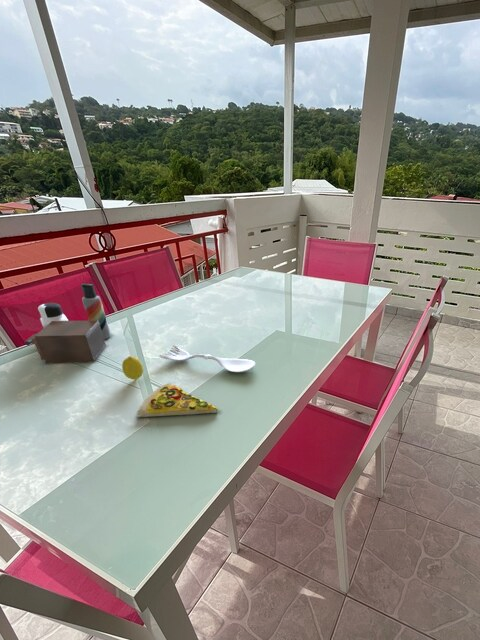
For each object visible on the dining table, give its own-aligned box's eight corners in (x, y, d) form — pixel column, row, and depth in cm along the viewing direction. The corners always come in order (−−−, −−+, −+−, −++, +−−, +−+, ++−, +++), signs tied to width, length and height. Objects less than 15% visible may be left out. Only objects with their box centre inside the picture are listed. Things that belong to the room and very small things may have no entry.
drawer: (26, 360, 106) (16, 338, 102) (43, 345, 116) (34, 324, 111) (86, 359, 109) (79, 337, 105) (98, 344, 119) (91, 323, 114)
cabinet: (45, 363, 107) (34, 336, 102) (62, 346, 117) (52, 321, 112) (94, 362, 110) (85, 335, 104) (106, 345, 120) (98, 320, 114)
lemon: (149, 378, 103) (143, 355, 98) (133, 386, 99) (127, 362, 94) (137, 373, 105) (131, 350, 101) (122, 380, 101) (115, 357, 97)
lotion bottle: (91, 338, 124) (73, 284, 113) (103, 333, 129) (86, 280, 117) (103, 341, 123) (86, 286, 111) (114, 335, 127) (99, 282, 116)
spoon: (174, 352, 118) (172, 343, 116) (259, 365, 113) (258, 356, 111) (160, 363, 111) (158, 354, 109) (250, 378, 106) (249, 369, 104)
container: (71, 333, 127) (59, 299, 120) (75, 340, 122) (63, 305, 115) (47, 337, 123) (33, 303, 115) (50, 345, 118) (36, 309, 111)
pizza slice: (164, 386, 100) (162, 378, 98) (229, 397, 97) (228, 389, 95) (132, 416, 87) (130, 407, 85) (205, 430, 84) (204, 421, 82)
